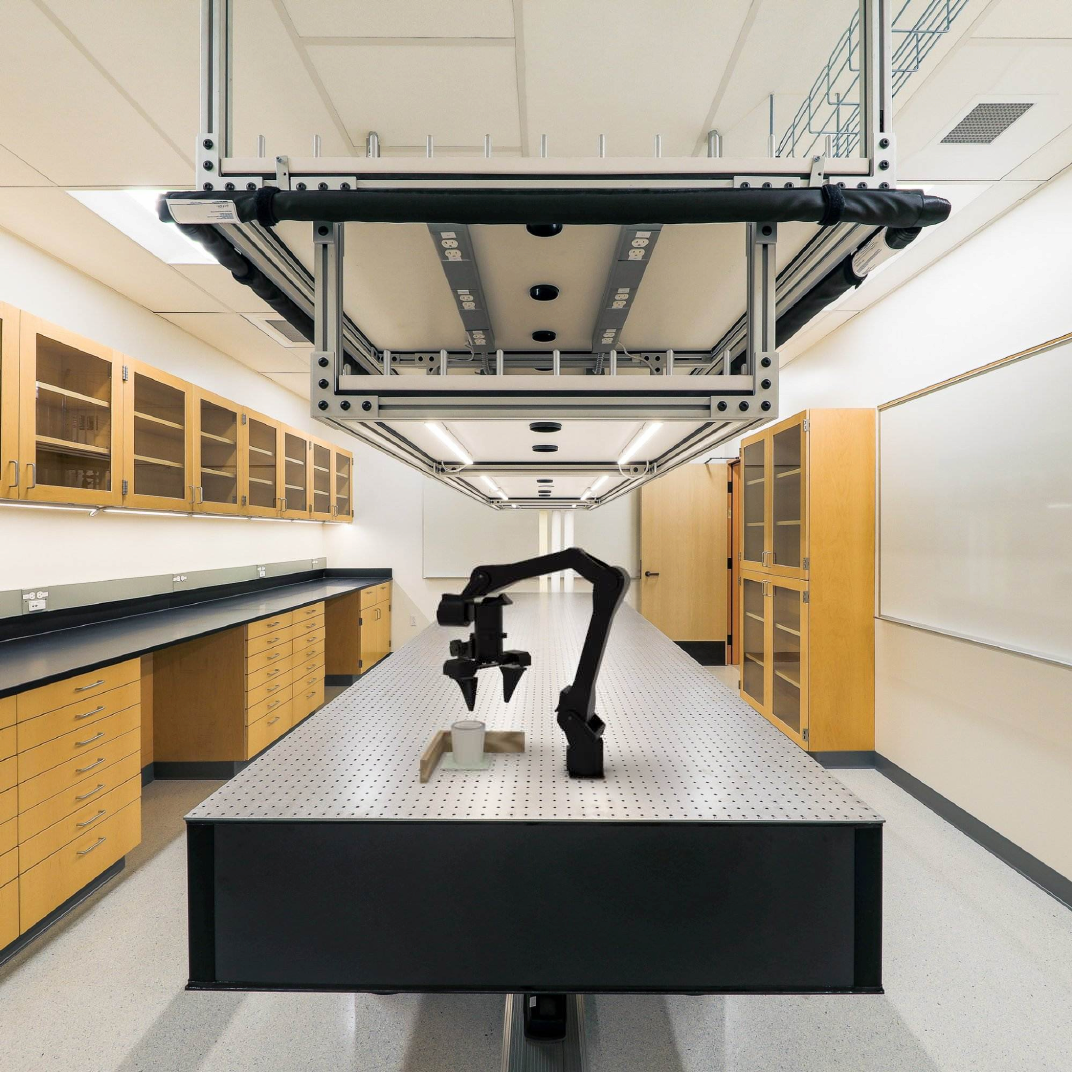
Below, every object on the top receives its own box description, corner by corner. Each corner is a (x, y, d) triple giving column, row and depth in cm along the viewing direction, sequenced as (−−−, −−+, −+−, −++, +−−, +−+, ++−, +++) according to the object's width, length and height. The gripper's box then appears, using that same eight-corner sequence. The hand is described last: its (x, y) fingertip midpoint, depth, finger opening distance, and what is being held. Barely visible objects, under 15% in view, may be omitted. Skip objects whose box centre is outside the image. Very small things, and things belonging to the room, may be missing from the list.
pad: (492, 754, 121) (492, 753, 121) (487, 770, 112) (487, 768, 112) (448, 753, 121) (448, 752, 122) (440, 769, 112) (440, 768, 113)
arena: (524, 750, 124) (524, 731, 124) (520, 784, 106) (520, 761, 106) (438, 749, 124) (439, 730, 124) (419, 782, 106) (420, 760, 106)
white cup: (468, 752, 122) (468, 717, 122) (492, 759, 117) (493, 723, 118) (442, 761, 116) (443, 725, 117) (467, 769, 112) (468, 731, 112)
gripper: (497, 621, 131) (498, 692, 130) (426, 629, 118) (426, 708, 117) (532, 625, 123) (533, 701, 122) (460, 633, 110) (461, 718, 109)
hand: (489, 706), depth 118 cm, fingers open, 9 cm apart
